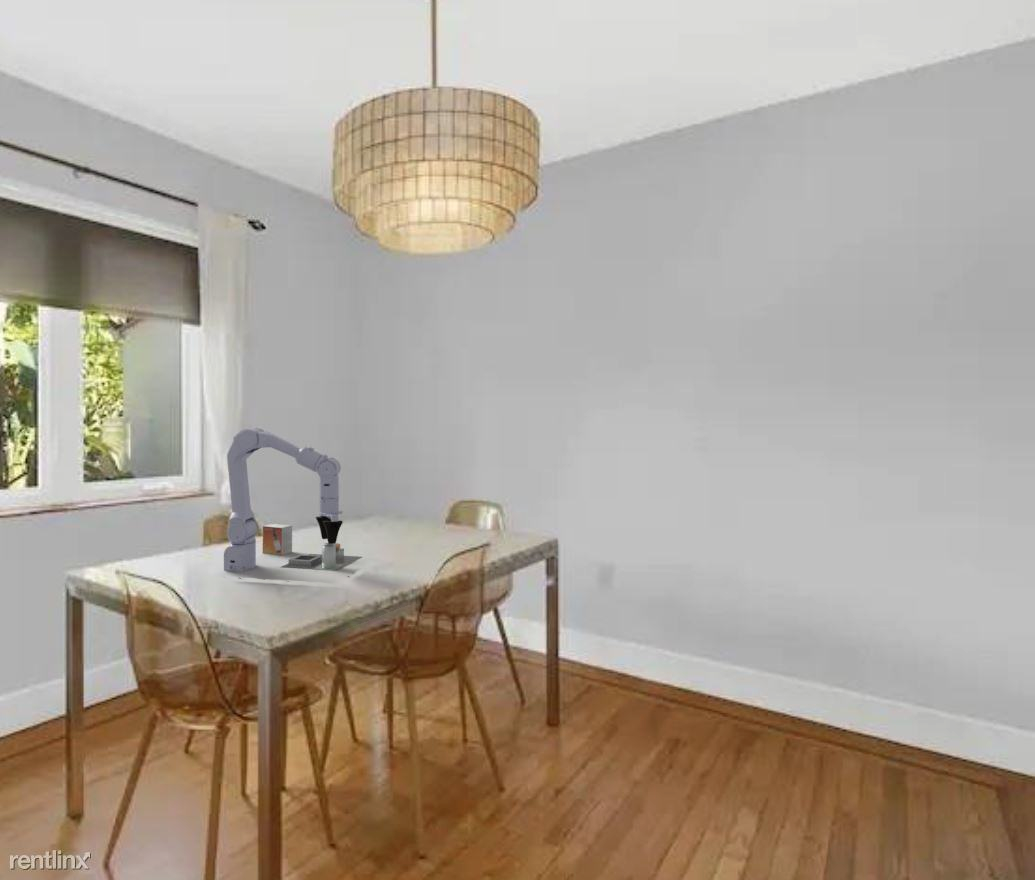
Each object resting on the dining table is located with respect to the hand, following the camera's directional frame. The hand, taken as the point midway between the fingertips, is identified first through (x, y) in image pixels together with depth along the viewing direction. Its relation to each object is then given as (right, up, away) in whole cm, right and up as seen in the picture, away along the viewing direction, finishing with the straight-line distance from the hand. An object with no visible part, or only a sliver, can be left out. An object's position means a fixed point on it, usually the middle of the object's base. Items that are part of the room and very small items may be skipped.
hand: (328, 541), depth 200 cm
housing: (-4, -9, +7) cm, 12 cm away
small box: (-23, -8, +20) cm, 32 cm away
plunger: (-1, -7, +11) cm, 13 cm away
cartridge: (0, -8, 0) cm, 8 cm away
